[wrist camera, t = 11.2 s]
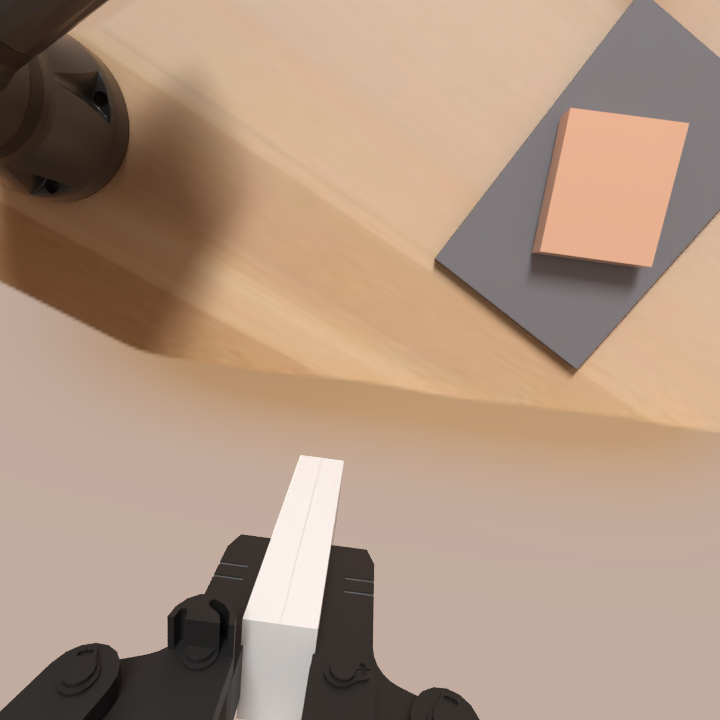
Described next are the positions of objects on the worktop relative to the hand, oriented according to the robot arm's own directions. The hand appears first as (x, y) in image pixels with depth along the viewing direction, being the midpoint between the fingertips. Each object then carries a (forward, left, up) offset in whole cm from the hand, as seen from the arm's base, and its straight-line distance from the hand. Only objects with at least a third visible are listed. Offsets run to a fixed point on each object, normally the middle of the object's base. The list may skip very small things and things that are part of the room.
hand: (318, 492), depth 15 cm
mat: (+9, +26, -31) cm, 41 cm away
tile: (+11, +20, -28) cm, 37 cm away
